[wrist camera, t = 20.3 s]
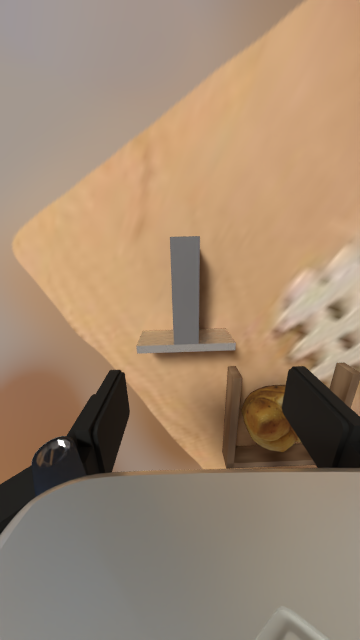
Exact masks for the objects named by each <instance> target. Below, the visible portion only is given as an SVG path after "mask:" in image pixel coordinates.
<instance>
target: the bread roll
mask: <svg viewBox="0 0 360 640" xmlns="http://www.w3.org/2000/svg"><path fill="white" fill-rule="evenodd" d="M285 387H286V385H273V386H266V387H263V388H260V389H257V390H255V391H253V392H251V393H250V395H249V396H248V397H247V398H246V400H245V402H244V405H243V407H242V414H243V418H244V422H245V425H246V427H247V430H248V432H249V434H250V436H251V438H252V439H253V440H254V441H255V442H256V443H257V444H259V445H260V446H262V447H263V448H266V449H268V450H274V451H280V452H284V451H286V450H287V449H288V448H290V447H291V446H292V445H293V444H294V443H295V442H300V443H302V442H301V441H300V439H299V438H298V436H297V435H296V433H295V431H294V430H293V428H292V427H291V425H290V424H289V422H288V421H287V419H286V417H285V416H284V414H283V412H282V403H283V397H284V392H285Z"/></svg>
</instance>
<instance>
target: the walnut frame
mask: <svg viewBox="0 0 360 640" xmlns="http://www.w3.org/2000/svg"><path fill="white" fill-rule="evenodd" d="M359 380H360V372H358V371H357V370H355V369H353V368H352V367H350V366H349V365H347V364H346V363H337V364H336V368H335V372H334V375H333V379H332V383H331V386H330V390H331V391H332V392H333V393H334V394H335V395H336V396H337V397H339V398H340V399H341V400H342V401H343V402H344V403H345V404H346V405H347V406H348V407H349V408H351V405H352V402H353V399H354V396H355V393H356V390H357V387H358V384H359ZM241 383H242V377H241V375H240V373H239V371H238V370H237V368H236V366H231V367H228V375H227V390H226V405H225V420H224V435H223V450H222V452H223V456H224V461H225V465H226V469H230V468H253V467H276V466H299V465H316V464H315V463H314V461H313V460H312V458H311V456H310V455H309V453H308V452H307V450H306V449H305V447H304V446H303V444H293V445H292V446H291V447H290V448H288V449H287V450H286V451H284V452H280V451H274V450H268V449H266V448H263V447H262V446H236V436H237V425H238V415H239V404H240V394H241Z"/></svg>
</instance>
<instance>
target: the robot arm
mask: <svg viewBox="0 0 360 640" xmlns="http://www.w3.org/2000/svg"><path fill="white" fill-rule="evenodd" d="M129 412H130V410H129V402H128V395H127V387H126V380H125V373H124V372H121V370H110V371H109V373H108V374H107V376H106V378H105V379H104V381H103V383H102V385H101V386H100V388H99V389H98V391H97V393H96V394H94V395H92V396H91V397H90V399H89V400H88V402H87V404H86V405H85V407H84V409H83V410H82V412H81V413H80V415H79V417H78V418H77V420H76V421H75V423H74V425H73V426H72V428H71V430H70V431H69V433H68V434H67V436H61V437H57V438H54V439H52V440H50V441H48V442H47V443H46V444H44V445H43V446H42V447H40V448H39V450H38V451H37V452H36V453H35V455H34V457H33V459H32V465H31V466H30V467H28V468H26V469H25V470H23V471H22V472H20V473H18V474H17V475H15V476H13V477H12V478H10V479H9V480H7V481H5V482H4V483H2V484H0V640H360V417H359V416H358V415H357V414H356V413H355V412H354V411H353V410H352V409H351V408H349V407H348V406H347V405H346V404H345V403H344V402H343V401H342V400H341V399H340V398H339V397H337V396H336V395H335V394H334V393H333V392H332V391H331V390H330V389H329V388H328V387H326V386H325V385H324V384H323V383H322V382H321V381H320V380H319V379H318V378H317V377H316V376H314V375H313V374H312V373H311V372H310V371H309V370H308V369H307V368H306V367H304V366H296V367H292V368H291V369H290V370H289V371H288V376H287V381H286V387H285V392H284V397H283V403H282V412H283V414H284V416H285V417H286V419H287V421H288V422H289V424H290V425H291V427H292V428H293V430H294V431H295V433H296V435H297V436H298V438H299V439H300V441H301V442H302V444H303V446H304V447H305V449H306V450H307V452H308V453H309V455H310V456H311V458H312V460H313V461H314V463H315V464H316V466H317V467H318V468H260V469H201V470H200V469H199V470H158V471H156V470H155V471H129V472H112V469H113V466H114V463H115V460H116V456H117V453H118V450H119V446H120V444H121V440H122V437H123V434H124V431H125V427H126V424H127V421H128V418H129Z"/></svg>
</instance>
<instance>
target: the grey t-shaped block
mask: <svg viewBox="0 0 360 640" xmlns="http://www.w3.org/2000/svg"><path fill="white" fill-rule="evenodd" d="M170 249H171V276H172V304H173V330H150V331H142V334H141V336H140V339H139V341H138V344H137V353H166V352H196V351H225V350H235V346H236V342H235V341H234V339H233V338H232V337H231V335H230V334H229V332H228V331H227V329H226V328H214V329H199V266H200V236H192V237H170Z"/></svg>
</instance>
